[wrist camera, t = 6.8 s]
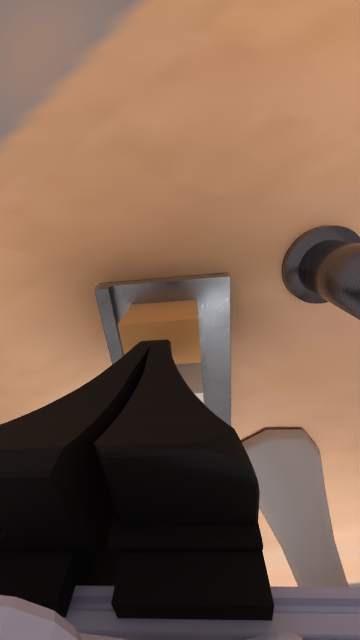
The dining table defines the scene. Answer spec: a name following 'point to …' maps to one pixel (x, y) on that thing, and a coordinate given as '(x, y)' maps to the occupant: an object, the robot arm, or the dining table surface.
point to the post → (325, 268)
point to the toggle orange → (164, 328)
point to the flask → (296, 504)
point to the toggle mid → (192, 377)
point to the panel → (211, 317)
